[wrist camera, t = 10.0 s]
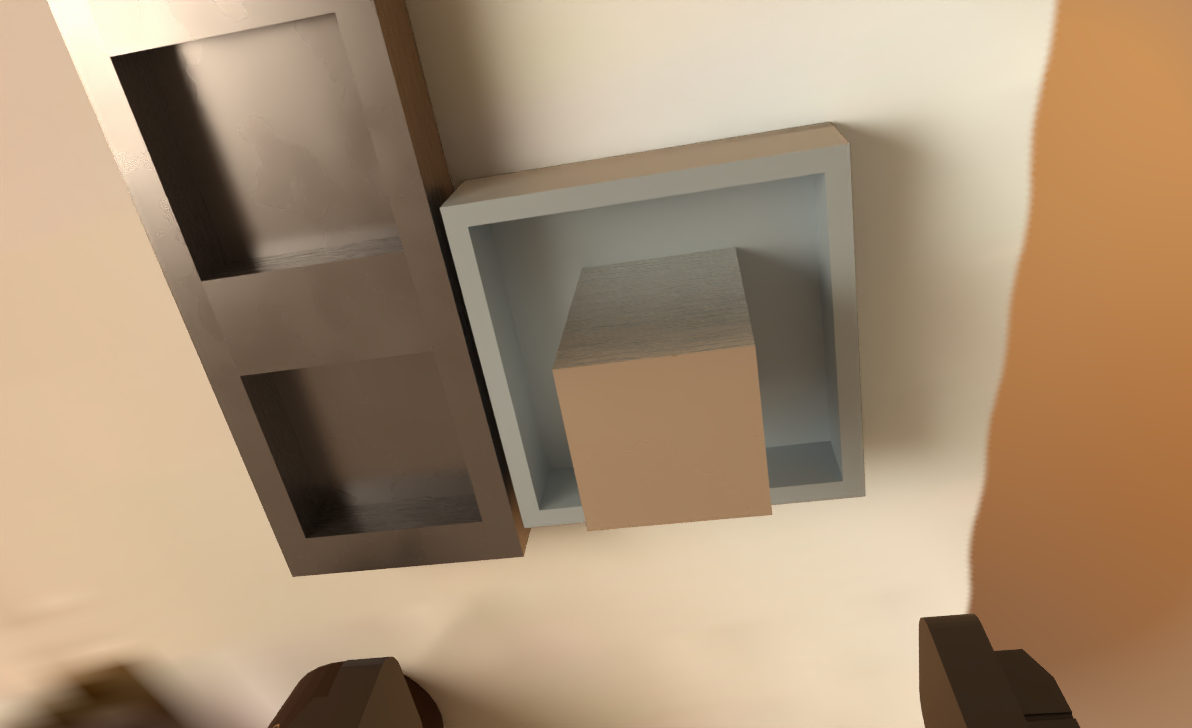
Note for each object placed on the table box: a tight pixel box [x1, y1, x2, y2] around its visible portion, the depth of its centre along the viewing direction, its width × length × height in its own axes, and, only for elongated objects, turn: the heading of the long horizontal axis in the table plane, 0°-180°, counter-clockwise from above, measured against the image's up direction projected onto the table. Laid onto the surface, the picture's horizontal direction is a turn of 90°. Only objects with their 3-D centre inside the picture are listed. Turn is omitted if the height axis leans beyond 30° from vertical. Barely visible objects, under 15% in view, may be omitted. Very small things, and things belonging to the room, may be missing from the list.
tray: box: [440, 122, 865, 528], centre depth 24 cm, size 10×10×3 cm
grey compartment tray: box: [47, 0, 531, 577], centre depth 24 cm, size 18×8×2 cm, turn 10°
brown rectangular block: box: [552, 247, 772, 531], centre depth 22 cm, size 4×4×6 cm
